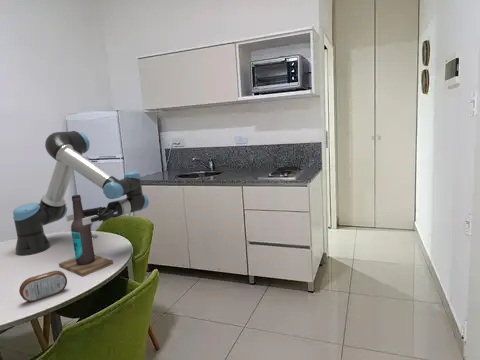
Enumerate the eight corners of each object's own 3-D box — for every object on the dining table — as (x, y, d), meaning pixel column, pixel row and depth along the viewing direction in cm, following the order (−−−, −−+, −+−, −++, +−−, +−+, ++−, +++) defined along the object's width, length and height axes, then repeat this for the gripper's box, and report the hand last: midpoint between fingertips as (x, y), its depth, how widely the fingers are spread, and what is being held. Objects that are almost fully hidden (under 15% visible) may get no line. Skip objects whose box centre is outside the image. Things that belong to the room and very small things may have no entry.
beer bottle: (73, 263, 149) (62, 196, 144) (90, 257, 155) (80, 192, 150) (81, 266, 144) (70, 198, 139) (98, 260, 150) (88, 194, 145)
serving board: (59, 266, 150) (58, 263, 150) (89, 255, 161) (88, 252, 161) (82, 276, 138) (82, 272, 138) (113, 263, 149) (112, 260, 149)
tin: (67, 287, 129) (63, 266, 128) (69, 290, 127) (66, 269, 125) (21, 303, 120) (17, 280, 118) (22, 306, 117) (18, 283, 116)
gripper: (135, 218, 154) (91, 232, 137) (104, 213, 169) (61, 224, 153) (133, 202, 153) (88, 214, 136) (102, 198, 168) (59, 208, 151)
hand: (74, 220), depth 144 cm, fingers open, 13 cm apart
